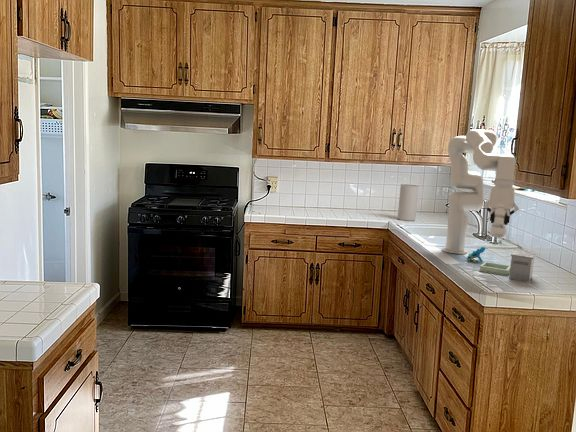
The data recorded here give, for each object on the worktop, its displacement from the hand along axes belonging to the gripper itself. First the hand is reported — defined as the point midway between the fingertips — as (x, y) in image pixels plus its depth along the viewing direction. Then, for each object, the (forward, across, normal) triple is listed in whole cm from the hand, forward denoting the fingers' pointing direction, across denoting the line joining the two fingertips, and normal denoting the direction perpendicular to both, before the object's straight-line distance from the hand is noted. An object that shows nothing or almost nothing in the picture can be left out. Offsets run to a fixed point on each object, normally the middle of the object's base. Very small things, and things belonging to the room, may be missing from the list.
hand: (499, 223), depth 251 cm
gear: (+22, -12, +15) cm, 29 cm away
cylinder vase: (+21, -83, +123) cm, 150 cm away
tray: (+22, +1, 0) cm, 22 cm away
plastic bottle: (+7, 0, 0) cm, 7 cm away
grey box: (+22, +12, -6) cm, 26 cm away
